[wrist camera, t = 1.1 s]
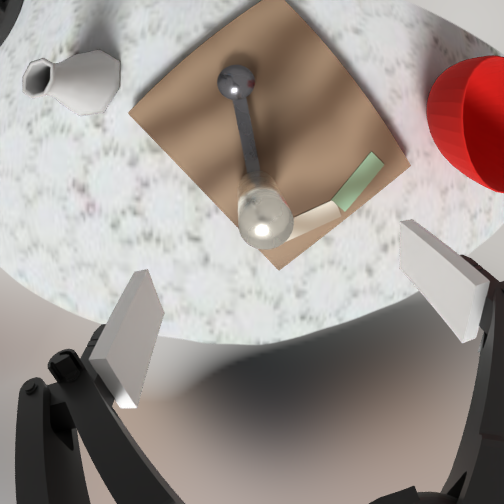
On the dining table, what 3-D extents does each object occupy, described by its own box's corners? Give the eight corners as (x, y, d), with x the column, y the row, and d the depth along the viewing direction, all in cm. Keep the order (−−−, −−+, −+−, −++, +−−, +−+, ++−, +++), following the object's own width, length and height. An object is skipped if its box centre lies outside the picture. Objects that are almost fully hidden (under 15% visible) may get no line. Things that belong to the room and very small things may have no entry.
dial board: (132, 112, 27) (127, 113, 26) (273, -4, 23) (275, -9, 22) (277, 264, 35) (278, 271, 34) (404, 163, 31) (411, 165, 29)
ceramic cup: (462, 211, 34) (513, 244, 24) (381, 110, 28) (435, 115, 19) (511, 143, 30) (565, 161, 21) (443, 39, 24) (501, 30, 15)
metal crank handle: (212, 71, 25) (201, 51, 16) (252, 63, 25) (261, 40, 16) (246, 235, 32) (251, 287, 23) (282, 228, 32) (301, 278, 23)
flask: (72, 46, 24) (18, 32, 15) (131, 54, 25) (90, 36, 16) (53, 110, 26) (-4, 118, 17) (110, 122, 28) (62, 131, 19)
